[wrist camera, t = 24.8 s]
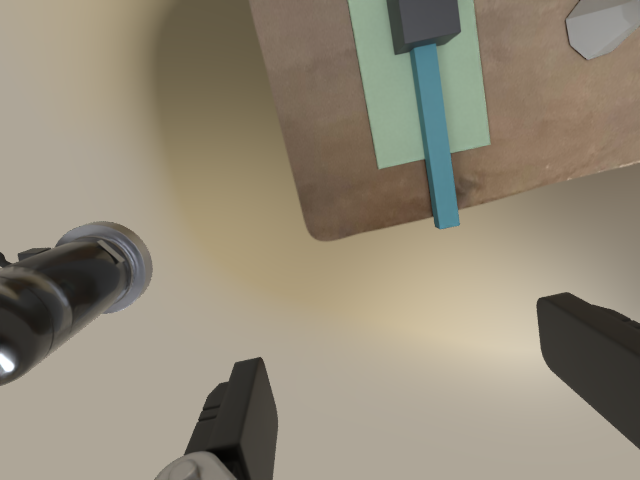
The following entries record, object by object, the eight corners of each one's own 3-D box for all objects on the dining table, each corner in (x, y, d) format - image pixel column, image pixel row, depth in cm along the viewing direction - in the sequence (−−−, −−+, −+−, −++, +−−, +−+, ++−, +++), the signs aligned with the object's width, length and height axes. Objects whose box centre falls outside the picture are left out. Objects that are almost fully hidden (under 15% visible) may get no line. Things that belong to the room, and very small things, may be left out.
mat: (488, 144, 50) (490, 144, 49) (377, 168, 50) (378, 169, 50) (464, -53, 45) (466, -56, 45) (342, -25, 45) (343, -28, 45)
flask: (583, 71, 48) (652, 51, 39) (553, 18, 47) (618, -17, 37) (636, 33, 48) (721, 2, 38) (608, -23, 46) (688, -69, 37)
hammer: (467, 219, 51) (484, 226, 46) (421, 229, 51) (433, 237, 46) (437, -22, 45) (452, -43, 40) (384, -11, 45) (393, -30, 40)
